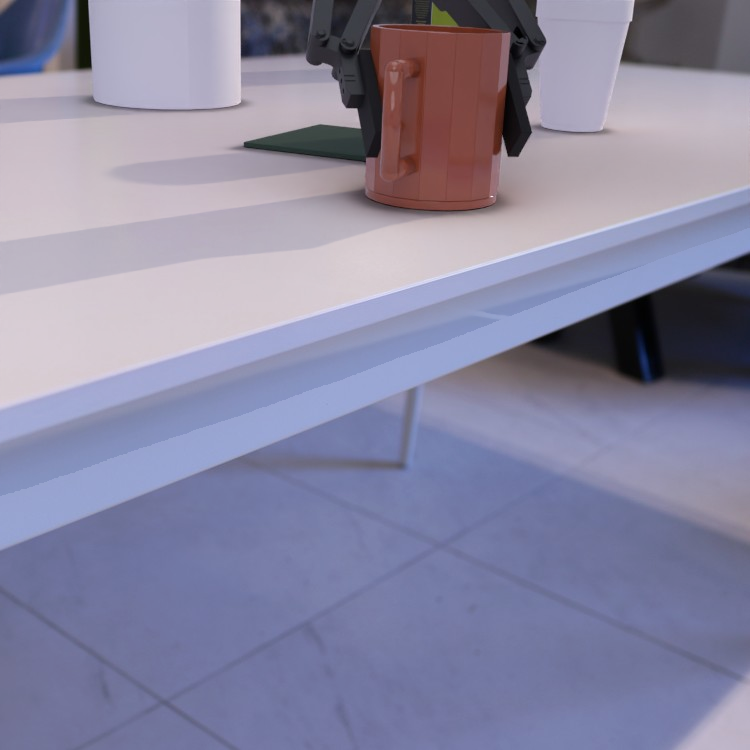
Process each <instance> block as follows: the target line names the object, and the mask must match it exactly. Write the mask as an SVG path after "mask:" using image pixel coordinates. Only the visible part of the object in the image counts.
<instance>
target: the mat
mask: <svg viewBox="0 0 750 750" xmlns="http://www.w3.org/2000/svg"><path fill="white" fill-rule="evenodd" d="M244 147H245V148H249V149H250V148H252V149H260V150H267V151H276V152H284V153H285V152H286V153H293V154H301V155H302V154H303V155H311V156H318V157H326V158H327V157H328V158H335V159H343V160H351V161H360V162H361V161H362V162H366V153H365V148H364V142H363V137H362V131H361V127H360V128H359V127H350V126H342V125H332V124H322V123H318V124H315V125H311V126H307V127H302V128H297V129H293V130H290V131H284V132H281V133H276V134H272V135H267V136H264V137H260V138H259V137H258V138H254V139H251V140H246V141H243V148H244Z"/></svg>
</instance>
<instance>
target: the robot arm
mask: <svg viewBox="0 0 750 750" xmlns="http://www.w3.org/2000/svg"><path fill="white" fill-rule="evenodd" d="M382 1H383V0H357V2H356V4H355V6H354V9H353V10H352V13H351V15H350V17H349V19H348V22H347V23H346V26H345V28H344V30H343V33H342V34H341V37H338V36H335V35H332V34H331V30H332V22H333V21H332V20H333V14H334V13H333V12H334V4H335V0H312V5H311V12H310V21H309V28H308V37H307V44H306V52H305V60H306V62H307V63H308V64H309V65H312V66H314V67H315V66H316V67H317V66H320V65H322V64H325V65H328V66H331V67H332V69H331V73H330V74H331V78H333V79H334V80H335V81H336V82H338V88H339V92H340V98H341V103H342V104H343V106H344V107H345V109H356V110H357V115H358V120H359V126H360V128H361V131H362V137H363V142H364V148H365V153H366V158H378V155H379V152H380V150H381V134H382V110H383V109H382V104H381V99H380V94H379V89H378V84H377V79H376V74H375V69H374V64H373V59H372V54H371V50H370V49H366V48H365V49H364V48H361V47H362V46H363V43H364V40H365V39H366V36H367V34H368V32H369V30H370V28H371V26H372V22H373V21H374V18H375V16H376V14H377V11H378V10H379V8H380V7H381V4H382ZM431 1H432V2H433V3H434V5H435V6H436V7H437V8H438V9H439V10H440V11H442V12H443V11H446V12H447V13H448V14H449V15H450V16H451V18H452V19H453V20H454V21H455V22H456V23H457V25H458V26H461V27H476V28H487V29H497V30H504V31H509V32H510V33H511V37H510V49H509V61H508V73H507V85H506V97H505V109H504V121H503V133H502V141H503V143H504V148H505V151H506V155H507V158H518V157H519V156H520V155H521V153H522V152H523V149H524V147H526V144H527V142H528V140H529V139H530V137H531V135H532V134H533V129H532V126H531V123H530V119H529V118H530V117H529V115H528V111H527V106H528V103H529V102H530V100H531V98H532V95H533V89H532V85H531V81H530V78H529V73H528V71H531V70H533V69H534V68H535V65H536V64H537V62H538V61H539V56H540V54H541V52H542V51H543V49H544V47H545V45H546V38H545V36H544V34H543V33H542V31H541V29H540V27H539V25H538V21H537V19H536V18H535V16H534V14H533V13H532V11H531V9H530V7H529V6H528V4H527V2H526V0H431Z"/></svg>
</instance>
